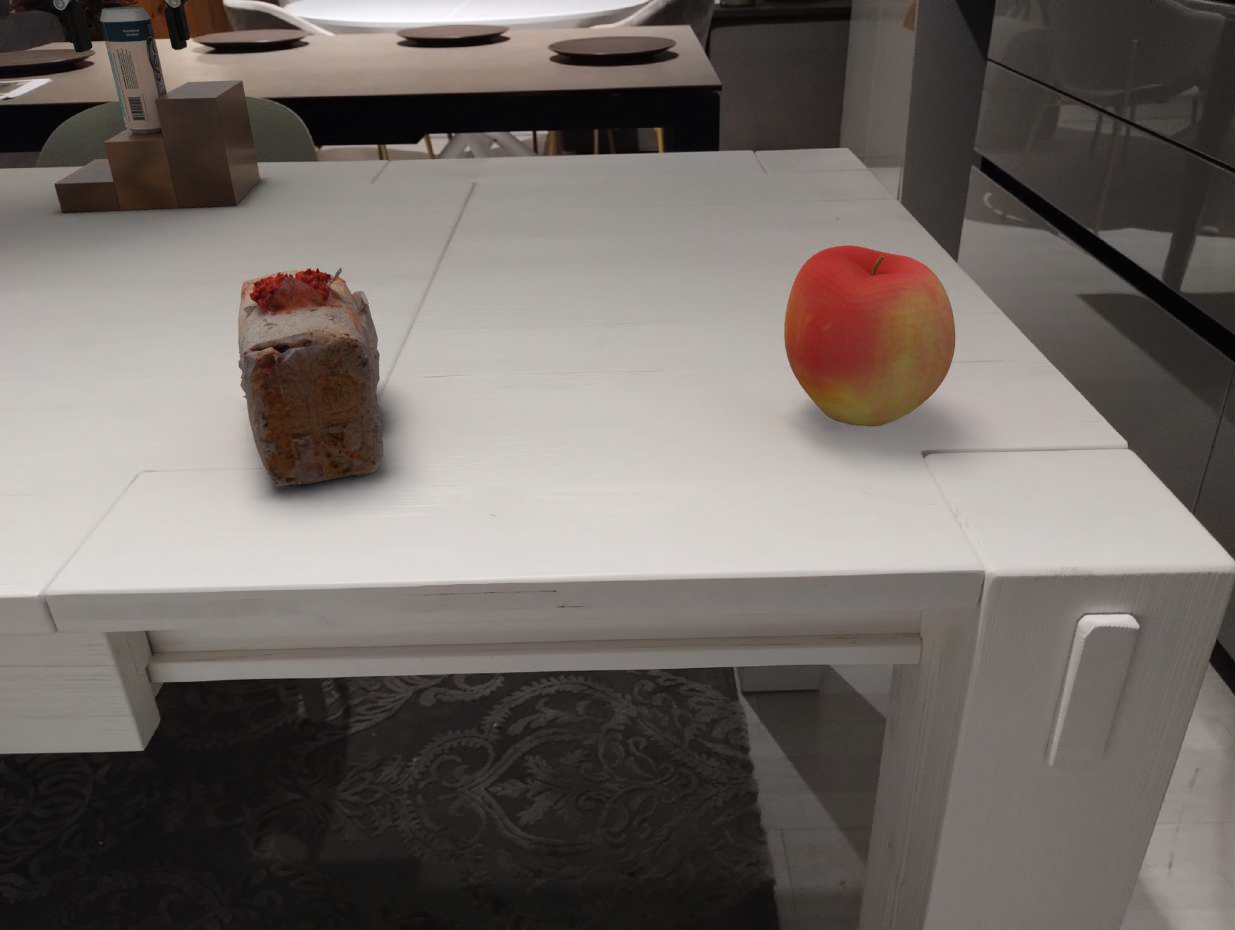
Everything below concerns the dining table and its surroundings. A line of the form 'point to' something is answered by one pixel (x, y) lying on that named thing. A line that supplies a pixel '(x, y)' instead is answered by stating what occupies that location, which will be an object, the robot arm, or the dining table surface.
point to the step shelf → (174, 157)
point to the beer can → (134, 66)
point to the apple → (868, 334)
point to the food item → (310, 376)
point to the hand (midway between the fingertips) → (132, 49)
